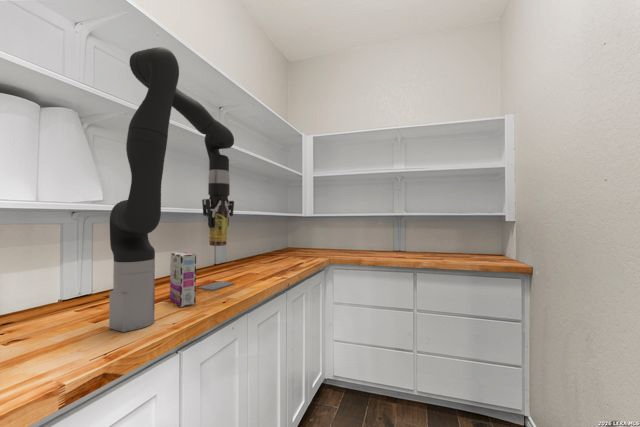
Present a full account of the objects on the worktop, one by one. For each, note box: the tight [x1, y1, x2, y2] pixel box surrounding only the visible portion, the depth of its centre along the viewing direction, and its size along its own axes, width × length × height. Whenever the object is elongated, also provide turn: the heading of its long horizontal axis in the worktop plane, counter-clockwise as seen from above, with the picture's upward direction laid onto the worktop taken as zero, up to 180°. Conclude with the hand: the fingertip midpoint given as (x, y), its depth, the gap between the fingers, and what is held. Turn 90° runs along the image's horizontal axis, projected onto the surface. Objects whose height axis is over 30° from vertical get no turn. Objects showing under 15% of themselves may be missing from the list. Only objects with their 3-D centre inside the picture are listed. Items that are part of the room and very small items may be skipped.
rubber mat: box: [197, 280, 235, 292], centre depth 117 cm, size 12×8×1 cm, turn 155°
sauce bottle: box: [208, 195, 229, 247], centre depth 107 cm, size 7×6×20 cm
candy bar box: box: [169, 251, 197, 308], centre depth 95 cm, size 11×5×16 cm, turn 44°
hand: (218, 227), depth 107 cm, fingers closed on sauce bottle, 6 cm apart
